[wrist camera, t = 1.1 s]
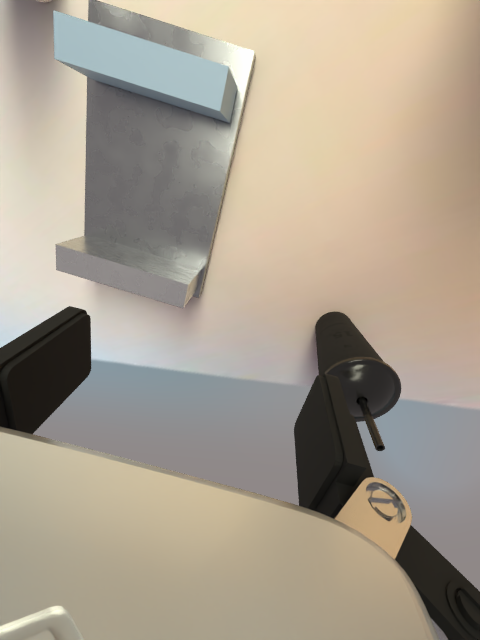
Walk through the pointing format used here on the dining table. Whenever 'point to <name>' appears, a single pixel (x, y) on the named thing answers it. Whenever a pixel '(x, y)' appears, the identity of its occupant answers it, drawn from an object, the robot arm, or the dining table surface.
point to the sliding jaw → (144, 67)
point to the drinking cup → (356, 371)
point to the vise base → (154, 173)
